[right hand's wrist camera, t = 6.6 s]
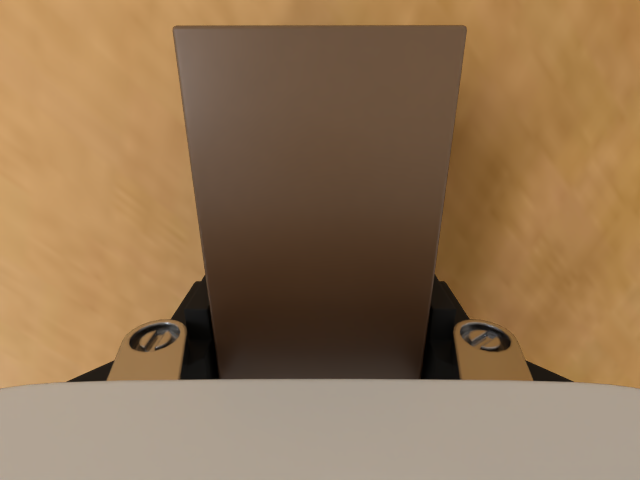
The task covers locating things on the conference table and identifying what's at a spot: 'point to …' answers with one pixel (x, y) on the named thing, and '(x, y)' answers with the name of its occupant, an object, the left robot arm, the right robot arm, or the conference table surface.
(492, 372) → the right robot arm
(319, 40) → the bar
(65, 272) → the conference table surface
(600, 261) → the conference table surface
